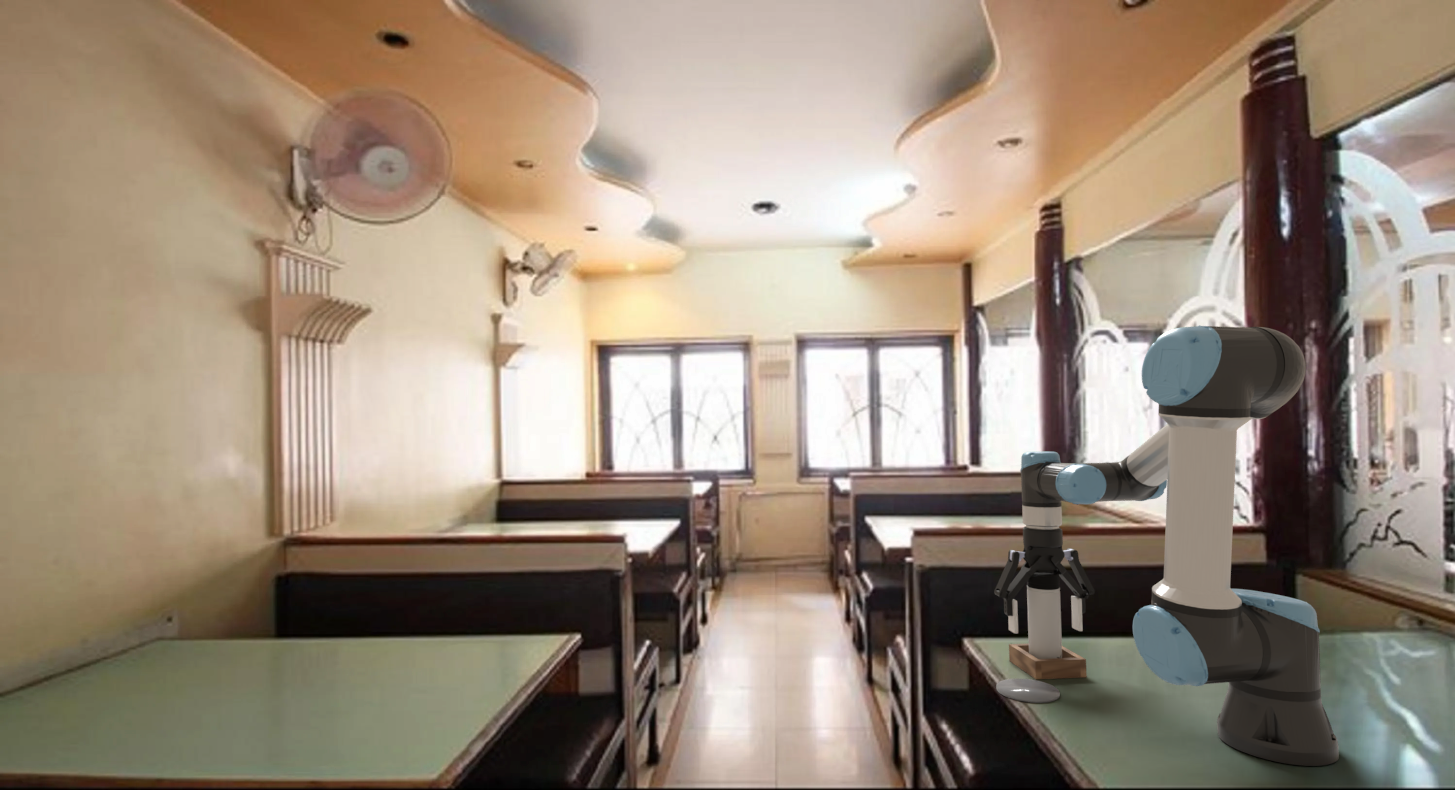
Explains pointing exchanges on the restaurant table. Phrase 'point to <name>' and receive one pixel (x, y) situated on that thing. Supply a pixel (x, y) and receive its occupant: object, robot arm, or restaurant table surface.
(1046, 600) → the travel mug
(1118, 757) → the restaurant table surface
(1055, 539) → the robot arm
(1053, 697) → the grey round disc
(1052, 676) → the brown open square frame
